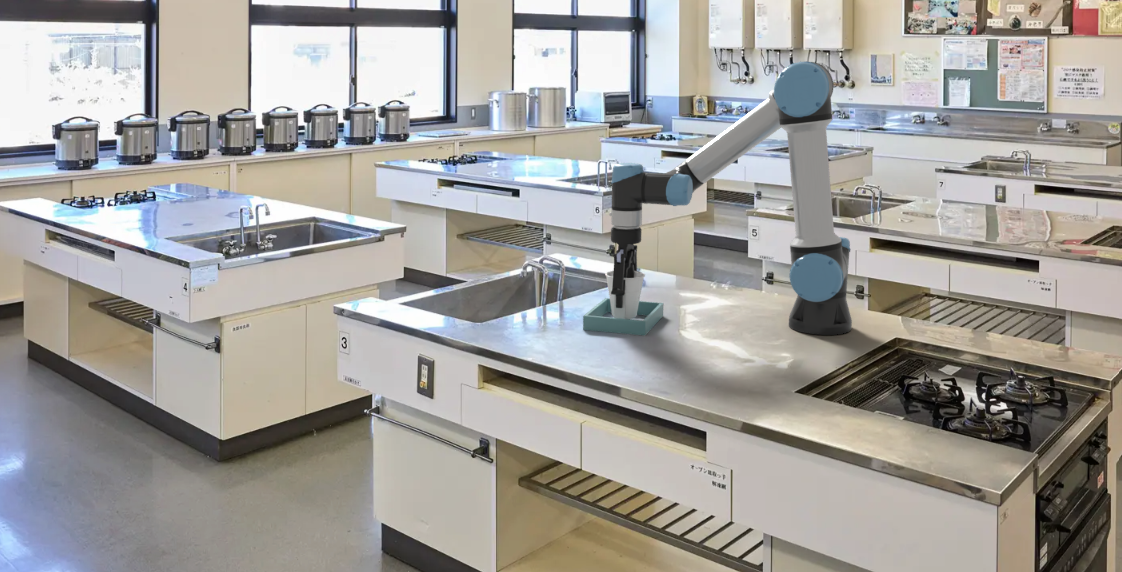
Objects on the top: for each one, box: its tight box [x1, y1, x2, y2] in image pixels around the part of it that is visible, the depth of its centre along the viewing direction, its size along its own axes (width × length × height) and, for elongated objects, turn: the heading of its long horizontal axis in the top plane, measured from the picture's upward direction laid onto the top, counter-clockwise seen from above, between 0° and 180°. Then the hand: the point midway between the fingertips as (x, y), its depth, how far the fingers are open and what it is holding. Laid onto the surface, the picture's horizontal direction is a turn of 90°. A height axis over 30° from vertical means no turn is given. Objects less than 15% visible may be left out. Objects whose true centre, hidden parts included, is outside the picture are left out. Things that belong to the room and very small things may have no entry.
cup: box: [605, 270, 646, 320], centre depth 248 cm, size 10×10×11 cm
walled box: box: [582, 297, 665, 336], centre depth 250 cm, size 16×20×4 cm
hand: (624, 315), depth 250 cm, fingers closed on cup, 8 cm apart
